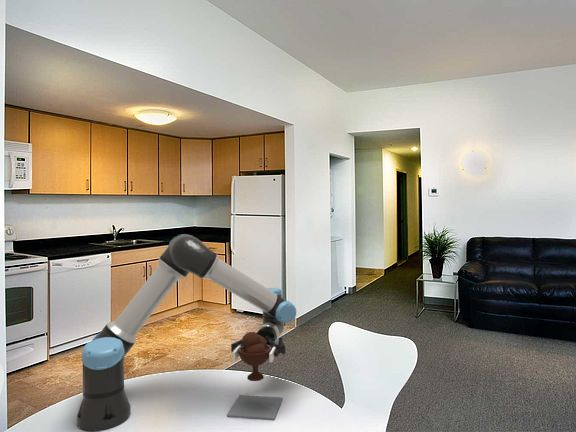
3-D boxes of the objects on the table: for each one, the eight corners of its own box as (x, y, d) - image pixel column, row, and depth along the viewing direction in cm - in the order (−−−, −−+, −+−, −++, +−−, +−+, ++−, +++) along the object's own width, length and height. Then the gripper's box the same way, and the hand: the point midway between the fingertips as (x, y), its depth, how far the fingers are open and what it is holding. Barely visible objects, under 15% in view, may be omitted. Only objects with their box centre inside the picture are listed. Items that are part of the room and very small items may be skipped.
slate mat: (226, 416, 124) (226, 414, 124) (239, 396, 138) (239, 394, 138) (274, 420, 122) (274, 418, 122) (282, 399, 136) (282, 397, 136)
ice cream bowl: (268, 385, 124) (267, 337, 124) (233, 383, 126) (232, 335, 126) (276, 372, 134) (275, 327, 134) (244, 370, 136) (243, 326, 136)
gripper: (299, 347, 146) (289, 371, 124) (236, 345, 150) (216, 367, 128) (298, 326, 146) (288, 346, 124) (236, 325, 150) (215, 344, 128)
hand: (252, 357), depth 126 cm, fingers closed on ice cream bowl, 11 cm apart
